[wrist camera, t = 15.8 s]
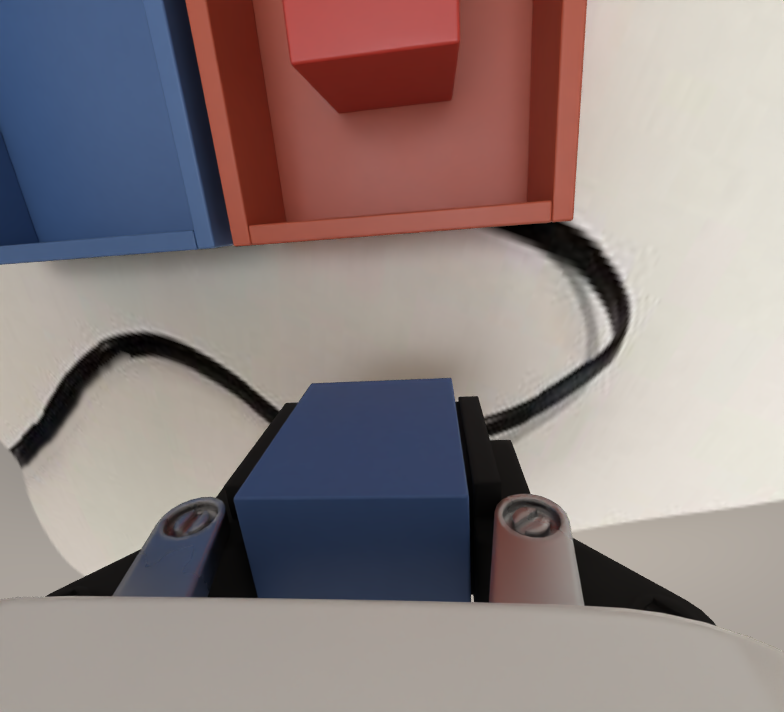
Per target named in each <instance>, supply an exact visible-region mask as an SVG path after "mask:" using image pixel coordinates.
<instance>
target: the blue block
mask: <svg viewBox="0 0 784 712" xmlns="http://www.w3.org/2000/svg"><path fill="white" fill-rule="evenodd" d="M234 504H235V508H236V512H237V516H238V520H239V524H240V528H241V532H242V536H243V540H244V544H245V548H246V552H247V556H248V560H249V564H250V568H251V572H252V576H253V580H254V584H255V588H256V592H257V596H258V598H284V599H344V600H395V601H439V602H471V578H470V526H469V493H468V487H467V480H466V473H465V466H464V459H463V452H462V445H461V439H460V432H459V425H458V418H457V411H456V404H455V397H454V391H453V384H452V379H451V378H435V379H410V380H385V381H360V382H335V383H312V384H311V385H310V386H309V388H308V389H307V391H306V392H305V394H304V395H303V397H302V398H301V399H300V401H299V402H298V404H297V405H296V407H295V408H294V410H293V411H292V413H291V414H290V416H289V417H288V419H287V420H286V422H285V423H284V424H283V426H282V427H281V429H280V430H279V432H278V433H277V435H276V436H275V438H274V439H273V441H272V442H271V444H270V445H269V447H268V448H267V449H266V451H265V452H264V454H263V455H262V457H261V458H260V460H259V461H258V463H257V464H256V466H255V467H254V469H253V470H252V472H251V473H250V474H249V476H248V477H247V479H246V480H245V482H244V483H243V485H242V486H241V488H240V489H239V491H238V492H237V494H236V495H235V497H234Z"/></svg>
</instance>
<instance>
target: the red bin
mask: <svg viewBox="0 0 784 712" xmlns="http://www.w3.org/2000/svg"><path fill="white" fill-rule="evenodd" d="M185 2H186V7H187V12H188V17H189V22H190V27H191V32H192V37H193V42H194V47H195V52H196V57H197V62H198V67H199V73H200V78H201V83H202V88H203V93H204V98H205V103H206V108H207V113H208V118H209V123H210V128H211V133H212V138H213V143H214V149H215V154H216V159H217V164H218V169H219V174H220V179H221V184H222V189H223V194H224V199H225V204H226V209H227V214H228V219H229V225H230V230H231V235H232V240H233V245H234V246H236V247H237V246H250V245H263V244H276V243H289V242H302V241H315V240H328V239H341V238H354V237H367V236H380V235H393V234H406V233H419V232H432V231H445V230H458V229H471V228H484V227H497V226H510V225H523V224H536V223H549V222H562V221H571V220H572V219H573V213H574V197H575V182H576V166H577V150H578V134H579V119H580V103H581V87H582V72H583V56H584V40H585V24H586V9H587V0H460V45H459V53H458V60H457V67H456V74H455V82H454V89H453V96H452V100H450V101H441V102H432V103H424V104H415V105H406V106H398V107H389V108H380V109H372V110H363V111H354V112H346V113H338V112H337V111H336V110H335V109H334V108H333V107H332V106H331V105H330V104H329V103H328V102H327V101H326V100H325V99H324V98H323V97H322V96H321V95H320V94H319V93H318V92H317V91H316V90H315V89H314V88H313V87H312V86H311V85H310V84H309V82H308V81H307V80H306V79H305V78H304V77H303V76H302V75H301V74H300V73H299V72H298V71H297V70H296V69H295V68H294V67H293V66H292V65H291V63H290V57H289V49H288V42H287V35H286V27H285V20H284V12H283V5H282V0H185Z"/></svg>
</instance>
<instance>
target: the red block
mask: <svg viewBox="0 0 784 712" xmlns="http://www.w3.org/2000/svg"><path fill="white" fill-rule="evenodd" d="M282 5H283V12H284V20H285V27H286V35H287V42H288V49H289V57H290V63H291V65H292V66H293V67H294V68H295V69H296V70H297V71H298V72H299V73H300V74H301V75H302V76H303V77H304V78H305V79H306V80H307V81H308V82H309V84H310V85H311V86H312V87H313V88H314V89H315V90H316V91H317V92H318V93H319V94H320V95H321V96H322V97H323V98H324V99H325V100H326V101H327V102H328V103H329V104H330V105H331V106H332V107H333V108H334V109H335V110H336V111H337V112H338V113H346V112H354V111H363V110H372V109H380V108H389V107H398V106H406V105H415V104H424V103H432V102H441V101H450V100H452V96H453V89H454V82H455V74H456V67H457V60H458V53H459V45H460V0H282Z"/></svg>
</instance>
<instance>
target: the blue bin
mask: <svg viewBox="0 0 784 712" xmlns="http://www.w3.org/2000/svg"><path fill="white" fill-rule="evenodd" d="M232 245H233V240H232V235H231V230H230V225H229V219H228V214H227V209H226V204H225V199H224V194H223V189H222V184H221V179H220V174H219V169H218V164H217V159H216V154H215V149H214V143H213V138H212V133H211V128H210V123H209V118H208V113H207V108H206V103H205V98H204V93H203V88H202V83H201V78H200V73H199V67H198V62H197V57H196V52H195V47H194V42H193V37H192V32H191V27H190V22H189V17H188V12H187V7H186V2H185V0H0V265H2V264H16V263H29V262H42V261H55V260H68V259H81V258H94V257H107V256H120V255H133V254H146V253H159V252H172V251H185V250H197V249H211V248H219V247H225V246H232Z"/></svg>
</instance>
